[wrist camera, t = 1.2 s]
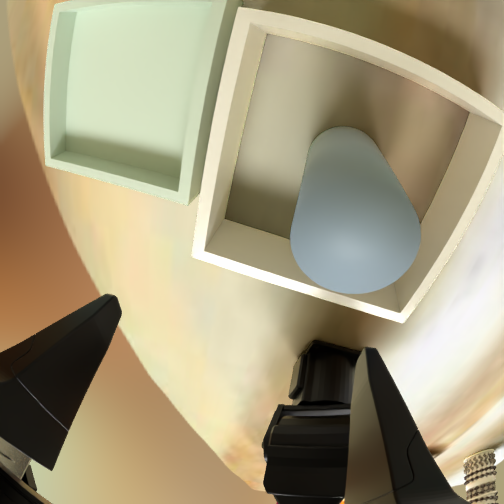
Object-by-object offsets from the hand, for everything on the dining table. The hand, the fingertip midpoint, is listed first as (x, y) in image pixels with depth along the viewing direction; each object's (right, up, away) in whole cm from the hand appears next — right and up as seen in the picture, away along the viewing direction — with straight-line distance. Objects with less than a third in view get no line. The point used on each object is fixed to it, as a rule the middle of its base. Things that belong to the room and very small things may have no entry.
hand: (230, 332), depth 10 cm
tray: (-8, +15, +8) cm, 19 cm away
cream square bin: (+7, +8, +9) cm, 14 cm away
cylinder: (+7, +8, +9) cm, 14 cm away
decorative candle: (+55, -46, +33) cm, 79 cm away
